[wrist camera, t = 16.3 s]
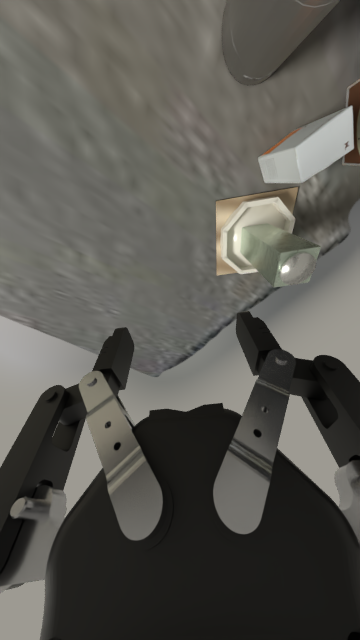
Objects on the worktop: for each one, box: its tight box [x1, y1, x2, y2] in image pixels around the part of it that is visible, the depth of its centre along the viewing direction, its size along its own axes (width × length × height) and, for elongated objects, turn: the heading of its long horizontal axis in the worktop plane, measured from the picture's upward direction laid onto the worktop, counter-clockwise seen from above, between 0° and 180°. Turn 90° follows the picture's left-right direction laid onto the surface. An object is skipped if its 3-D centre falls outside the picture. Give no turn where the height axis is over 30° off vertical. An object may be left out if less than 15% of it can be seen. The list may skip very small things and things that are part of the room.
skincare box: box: [258, 105, 354, 183], centre depth 25 cm, size 6×4×12 cm
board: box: [216, 187, 298, 275], centre depth 37 cm, size 15×15×1 cm
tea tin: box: [240, 223, 321, 287], centre depth 30 cm, size 5×5×17 cm
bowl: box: [220, 196, 295, 274], centre depth 36 cm, size 14×14×3 cm
